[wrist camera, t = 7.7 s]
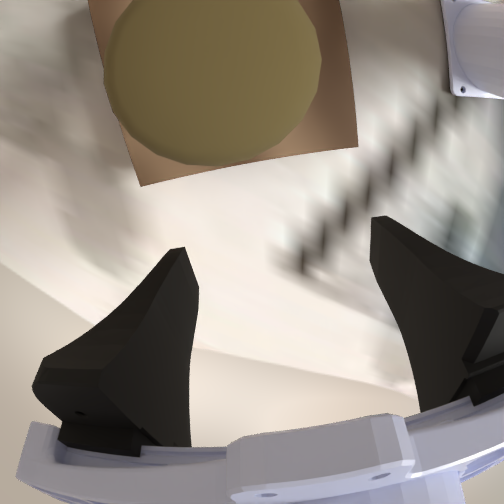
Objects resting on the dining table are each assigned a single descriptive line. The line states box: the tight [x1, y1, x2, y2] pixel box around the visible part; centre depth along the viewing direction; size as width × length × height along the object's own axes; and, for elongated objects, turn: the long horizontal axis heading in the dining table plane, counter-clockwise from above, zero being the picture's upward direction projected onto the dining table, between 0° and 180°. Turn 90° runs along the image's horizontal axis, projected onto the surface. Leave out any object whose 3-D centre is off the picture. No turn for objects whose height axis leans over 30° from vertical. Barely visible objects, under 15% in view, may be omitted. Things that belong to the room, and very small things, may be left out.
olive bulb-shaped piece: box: [104, 0, 322, 166], centre depth 10 cm, size 6×6×11 cm
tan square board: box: [88, 0, 358, 187], centre depth 15 cm, size 13×13×3 cm
